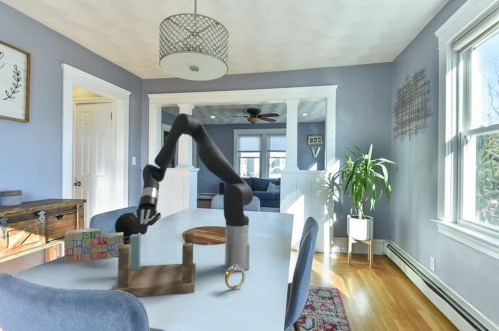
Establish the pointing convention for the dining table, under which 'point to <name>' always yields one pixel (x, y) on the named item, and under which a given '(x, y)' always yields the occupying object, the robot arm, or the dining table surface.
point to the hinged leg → (135, 251)
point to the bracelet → (228, 273)
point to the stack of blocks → (90, 245)
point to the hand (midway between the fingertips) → (142, 233)
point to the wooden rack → (157, 274)
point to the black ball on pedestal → (126, 227)
